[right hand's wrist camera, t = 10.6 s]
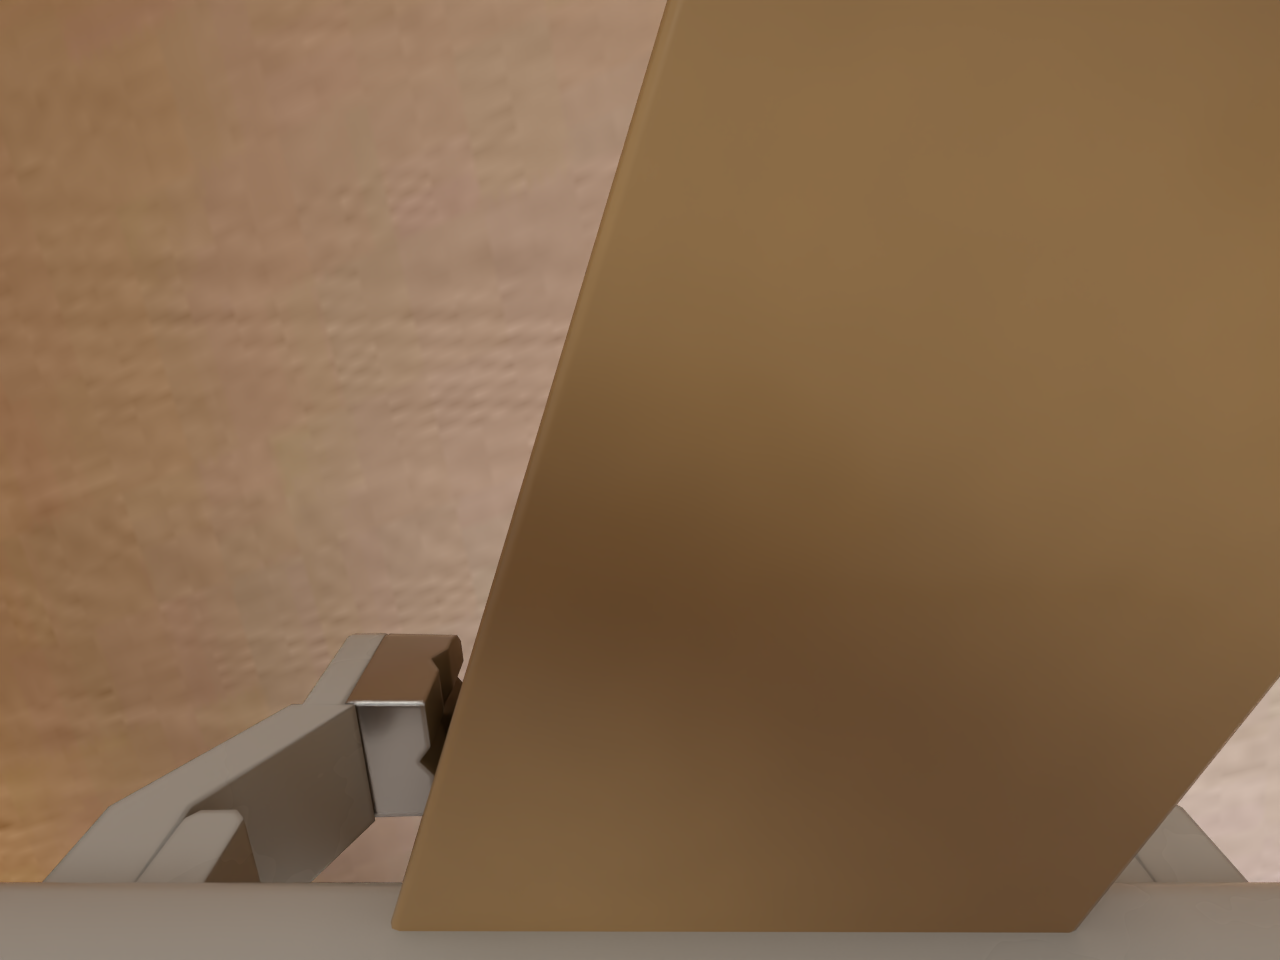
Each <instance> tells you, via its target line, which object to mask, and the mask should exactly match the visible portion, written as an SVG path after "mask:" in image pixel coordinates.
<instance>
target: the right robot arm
mask: <svg viewBox="0 0 1280 960" xmlns="http://www.w3.org/2000/svg"><path fill="white" fill-rule="evenodd" d="M462 663H463V653H462V646H461V641H460V639H459V638H458V636H457V635H428V634H389V635H388V634H386V633H376V634H353V635H351V636H349V637H348V638H347V639H346V640H345V642H344V643H343V645H342V646H341V648H340V649H339V651H338V652H337V654H336V655H335V657H334V658H333V660H332V661H331V663H330V664H329V666H328V667H327V669H326V670H325V672H324V673H323V674H322V676H321V677H320V679H319V680H318V682H317V683H316V685H315V686H314V688H313V689H312V691H311V692H310V694H309V695H308V697H307V698H306V700H305V701H304V703H303V704H291V705H289V706H288V707H286V708H284V709H282V710H280V711H279V712H277V713H275V714H273V715H272V716H270V717H268V718H266V719H264V720H263V721H261V722H259V723H257V724H255V725H254V726H252V727H250V728H248V729H247V730H245V731H243V732H241V733H239V734H238V735H236V736H234V737H232V738H230V739H229V740H227V741H225V742H223V743H221V744H220V745H218V746H216V747H214V748H213V749H211V750H209V751H207V752H205V753H204V754H202V755H200V756H198V757H196V758H195V759H193V760H191V761H189V762H188V763H186V764H184V765H182V766H180V767H179V768H177V769H175V770H173V771H171V772H170V773H168V774H166V775H164V776H163V777H161V778H159V779H157V780H155V781H154V782H152V783H150V784H148V785H146V786H145V787H143V788H141V789H139V790H138V791H136V792H134V793H132V794H130V795H129V796H127V797H125V798H123V799H121V800H120V801H118V802H116V803H114V804H112V805H111V806H109V807H108V808H107V809H106V810H105V811H104V813H103V814H102V815H101V816H100V817H99V818H98V819H97V821H96V822H95V823H94V824H93V825H92V826H91V827H90V828H89V830H88V831H87V832H86V833H85V834H84V835H83V836H82V838H81V839H80V840H79V841H78V842H77V843H76V844H75V846H74V847H73V848H72V849H71V850H70V851H69V852H68V854H67V855H66V856H65V857H64V858H63V859H62V860H61V861H60V863H59V864H58V865H57V866H56V867H55V868H54V869H53V871H52V872H51V873H50V874H49V875H48V876H47V877H46V879H45V880H44V881H43V882H0V960H1280V882H1248V881H1247V880H1246V879H1245V878H1244V876H1243V875H1242V874H1241V873H1240V872H1239V871H1238V870H1237V869H1236V867H1235V866H1234V865H1233V864H1232V863H1231V862H1230V861H1229V860H1228V859H1227V857H1226V856H1225V855H1224V854H1223V853H1222V852H1221V851H1220V850H1219V848H1218V847H1217V846H1216V845H1215V844H1214V843H1213V842H1212V841H1211V839H1210V838H1209V837H1208V836H1207V835H1206V834H1205V833H1204V832H1203V830H1202V829H1201V828H1200V827H1199V826H1198V825H1197V824H1196V823H1195V821H1194V820H1193V819H1192V818H1191V817H1190V816H1189V815H1188V814H1187V812H1186V811H1185V810H1184V809H1183V808H1182V807H1180V806H1178V805H1176V806H1175V807H1174V809H1173V810H1172V811H1171V812H1170V814H1169V815H1168V816H1167V817H1166V819H1165V820H1164V821H1163V822H1162V824H1161V825H1160V826H1159V827H1158V829H1157V830H1156V831H1155V832H1154V834H1153V835H1152V836H1151V837H1150V839H1149V840H1148V841H1147V842H1146V843H1145V845H1144V846H1143V847H1142V848H1141V850H1140V851H1139V852H1138V853H1137V855H1136V856H1135V857H1134V858H1133V860H1132V861H1131V862H1130V863H1129V865H1128V866H1127V867H1126V868H1125V870H1124V871H1123V872H1122V873H1121V875H1120V876H1119V877H1118V878H1117V880H1116V881H1115V882H1114V883H1113V884H1112V886H1111V887H1110V888H1109V889H1108V891H1107V892H1106V893H1105V894H1104V896H1103V897H1102V898H1101V899H1100V901H1099V902H1098V903H1097V904H1096V906H1095V907H1094V908H1093V909H1092V911H1091V912H1090V913H1089V914H1088V916H1087V917H1086V918H1085V919H1084V921H1083V922H1082V923H1081V924H1080V926H1079V927H1078V928H1077V929H1076V930H1075V931H1072V932H1070V933H978V932H560V931H398V930H395V929H392V926H391V919H392V916H393V913H394V909H395V906H396V903H397V899H398V896H399V893H400V889H401V886H402V883H310V882H311V881H312V880H314V879H315V878H316V877H317V876H318V875H319V874H320V873H321V872H322V871H323V870H324V869H325V868H326V867H327V866H328V865H329V864H330V863H331V862H332V861H333V860H334V859H336V858H337V857H338V856H339V855H340V854H341V853H342V852H343V851H344V850H345V849H346V848H347V847H348V846H349V845H350V844H351V843H352V842H353V841H354V840H355V839H356V838H358V837H359V836H360V835H361V834H362V833H363V832H364V831H365V830H366V829H367V828H368V827H369V826H370V825H371V824H372V823H373V822H374V821H375V817H395V816H423V813H424V809H425V806H426V803H427V800H428V796H429V793H430V790H431V786H432V783H433V780H434V776H435V773H436V770H437V766H438V763H439V760H440V756H441V753H442V750H443V746H444V743H445V740H446V736H447V733H448V730H449V726H450V723H451V720H452V716H453V713H454V710H455V706H456V703H457V700H458V696H459V693H460V690H461V686H462V683H463V682H462V681H461V680H460V679H459V678H458V674H459V671H460V669H461V666H462Z"/></svg>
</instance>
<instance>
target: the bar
mask: <svg viewBox="0 0 1280 960" xmlns="http://www.w3.org/2000/svg"><path fill="white" fill-rule="evenodd" d="M1279 677H1280V0H667V3H666V7H665V10H664V13H663V17H662V20H661V23H660V27H659V30H658V33H657V37H656V40H655V43H654V47H653V50H652V53H651V57H650V60H649V63H648V67H647V70H646V73H645V77H644V80H643V83H642V87H641V90H640V93H639V97H638V100H637V103H636V107H635V110H634V113H633V117H632V120H631V123H630V127H629V130H628V133H627V137H626V140H625V143H624V147H623V150H622V153H621V157H620V160H619V163H618V167H617V170H616V173H615V177H614V180H613V183H612V187H611V190H610V193H609V197H608V200H607V203H606V207H605V210H604V213H603V217H602V220H601V223H600V227H599V230H598V233H597V236H596V240H595V243H594V246H593V250H592V253H591V256H590V260H589V263H588V266H587V270H586V273H585V276H584V280H583V283H582V286H581V290H580V293H579V296H578V300H577V303H576V306H575V310H574V313H573V316H572V320H571V323H570V326H569V330H568V333H567V336H566V340H565V343H564V346H563V350H562V353H561V356H560V360H559V363H558V366H557V370H556V373H555V376H554V380H553V383H552V386H551V390H550V393H549V396H548V400H547V403H546V406H545V410H544V413H543V416H542V420H541V423H540V426H539V430H538V433H537V436H536V440H535V443H534V446H533V450H532V453H531V456H530V460H529V463H528V466H527V470H526V473H525V476H524V480H523V483H522V486H521V490H520V493H519V496H518V500H517V503H516V506H515V510H514V513H513V516H512V520H511V523H510V526H509V530H508V533H507V536H506V540H505V543H504V546H503V550H502V553H501V556H500V560H499V563H498V566H497V570H496V573H495V576H494V580H493V583H492V586H491V590H490V593H489V596H488V600H487V603H486V606H485V610H484V613H483V616H482V620H481V623H480V626H479V630H478V633H477V636H476V640H475V643H474V646H473V650H472V653H471V656H470V660H469V663H468V666H467V670H466V673H465V676H464V680H463V683H462V686H461V690H460V693H459V696H458V700H457V703H456V706H455V710H454V713H453V716H452V720H451V723H450V726H449V730H448V733H447V736H446V740H445V743H444V746H443V750H442V753H441V756H440V760H439V763H438V766H437V770H436V773H435V776H434V780H433V783H432V786H431V790H430V793H429V796H428V800H427V803H426V806H425V809H424V813H423V816H422V819H421V823H420V826H419V829H418V833H417V836H416V839H415V843H414V846H413V849H412V853H411V856H410V859H409V863H408V866H407V869H406V873H405V876H404V879H403V883H402V886H401V889H400V893H399V896H398V899H397V903H396V906H395V909H394V913H393V916H392V919H391V926H392V929H395V930H398V931H560V932H978V933H1070V932H1072V931H1075V930H1076V929H1077V928H1078V927H1079V926H1080V924H1081V923H1082V922H1083V921H1084V919H1085V918H1086V917H1087V916H1088V914H1089V913H1090V912H1091V911H1092V909H1093V908H1094V907H1095V906H1096V904H1097V903H1098V902H1099V901H1100V899H1101V898H1102V897H1103V896H1104V894H1105V893H1106V892H1107V891H1108V889H1109V888H1110V887H1111V886H1112V884H1113V883H1114V882H1115V881H1116V880H1117V878H1118V877H1119V876H1120V875H1121V873H1122V872H1123V871H1124V870H1125V868H1126V867H1127V866H1128V865H1129V863H1130V862H1131V861H1132V860H1133V858H1134V857H1135V856H1136V855H1137V853H1138V852H1139V851H1140V850H1141V848H1142V847H1143V846H1144V845H1145V843H1146V842H1147V841H1148V840H1149V839H1150V837H1151V836H1152V835H1153V834H1154V832H1155V831H1156V830H1157V829H1158V827H1159V826H1160V825H1161V824H1162V822H1163V821H1164V820H1165V819H1166V817H1167V816H1168V815H1169V814H1170V812H1171V811H1172V810H1173V809H1174V807H1175V806H1176V805H1177V804H1178V802H1179V801H1180V800H1181V799H1182V798H1183V796H1184V795H1185V794H1186V793H1187V791H1188V790H1189V789H1190V788H1191V786H1192V785H1193V784H1194V783H1195V781H1196V780H1197V779H1198V778H1199V776H1200V775H1201V774H1202V773H1203V771H1204V770H1205V769H1206V768H1207V766H1208V765H1209V764H1210V763H1211V761H1212V760H1213V759H1214V758H1215V756H1216V755H1217V754H1218V753H1219V752H1220V750H1221V749H1222V748H1223V747H1224V745H1225V744H1226V743H1227V742H1228V740H1229V739H1230V738H1231V737H1232V735H1233V734H1234V733H1235V732H1236V730H1237V729H1238V728H1239V727H1240V725H1241V724H1242V723H1243V722H1244V720H1245V719H1246V718H1247V717H1248V715H1249V714H1250V713H1251V712H1252V711H1253V709H1254V708H1255V707H1256V706H1257V704H1258V703H1259V702H1260V701H1261V699H1262V698H1263V697H1264V696H1265V694H1266V693H1267V692H1268V691H1269V689H1270V688H1271V687H1272V686H1273V684H1274V683H1275V682H1276V681H1277V679H1278V678H1279Z"/></svg>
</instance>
